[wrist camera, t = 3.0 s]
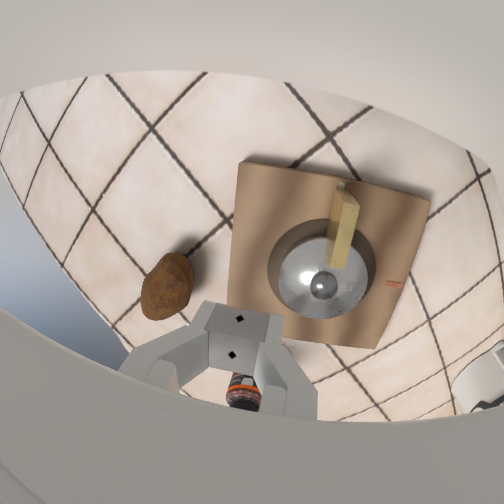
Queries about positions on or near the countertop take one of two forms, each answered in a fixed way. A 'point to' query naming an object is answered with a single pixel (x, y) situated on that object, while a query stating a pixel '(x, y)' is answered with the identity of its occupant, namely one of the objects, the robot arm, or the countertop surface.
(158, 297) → the potato
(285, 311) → the panel
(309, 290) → the grey round gold-handled piece
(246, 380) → the supplement bottle
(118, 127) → the countertop surface
